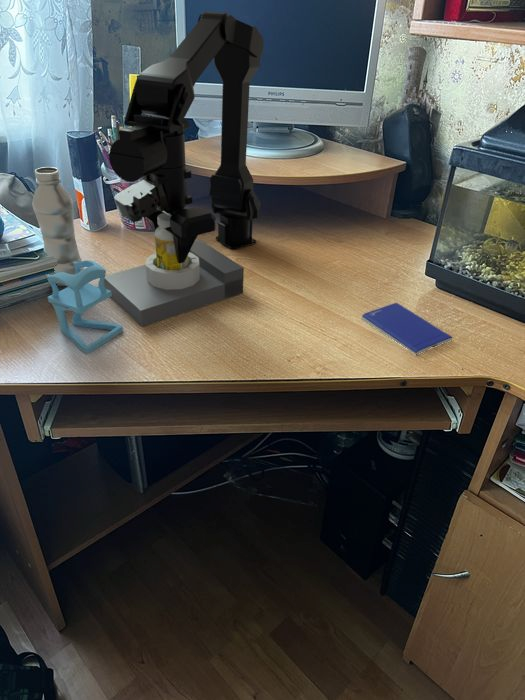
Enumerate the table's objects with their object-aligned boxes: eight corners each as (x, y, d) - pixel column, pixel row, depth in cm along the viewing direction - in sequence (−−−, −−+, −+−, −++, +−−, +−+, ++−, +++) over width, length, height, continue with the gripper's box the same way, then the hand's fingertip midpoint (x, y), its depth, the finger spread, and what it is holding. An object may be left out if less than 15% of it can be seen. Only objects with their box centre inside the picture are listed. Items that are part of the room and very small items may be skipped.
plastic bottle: (74, 270, 102) (55, 161, 91) (93, 283, 99) (75, 171, 87) (41, 280, 99) (17, 168, 87) (59, 294, 95) (37, 179, 83)
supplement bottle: (191, 275, 93) (189, 221, 88) (159, 278, 92) (155, 224, 86) (185, 261, 97) (183, 209, 92) (155, 264, 96) (151, 211, 90)
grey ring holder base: (200, 263, 107) (200, 235, 103) (243, 292, 98) (243, 262, 94) (104, 291, 96) (100, 260, 93) (142, 326, 87) (138, 293, 84)
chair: (85, 315, 90) (73, 247, 83) (124, 330, 86) (114, 261, 79) (48, 337, 84) (32, 266, 77) (88, 354, 81) (74, 281, 74)
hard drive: (362, 313, 91) (416, 350, 83) (397, 301, 95) (452, 335, 87) (360, 321, 92) (414, 359, 84) (395, 309, 96) (450, 343, 88)
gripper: (91, 156, 86) (104, 247, 95) (149, 190, 74) (157, 291, 83) (155, 146, 92) (161, 233, 101) (217, 176, 80) (218, 272, 89)
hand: (172, 256), depth 93 cm, fingers closed on supplement bottle, 5 cm apart
